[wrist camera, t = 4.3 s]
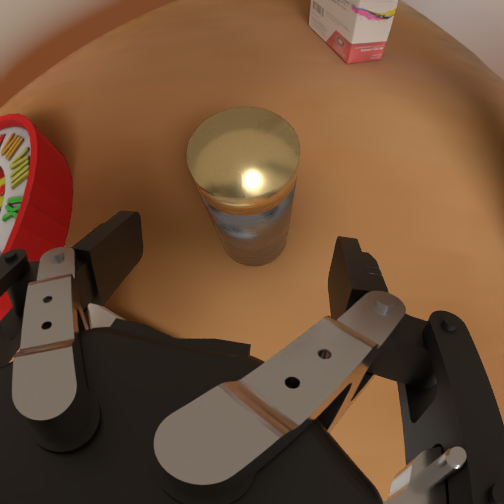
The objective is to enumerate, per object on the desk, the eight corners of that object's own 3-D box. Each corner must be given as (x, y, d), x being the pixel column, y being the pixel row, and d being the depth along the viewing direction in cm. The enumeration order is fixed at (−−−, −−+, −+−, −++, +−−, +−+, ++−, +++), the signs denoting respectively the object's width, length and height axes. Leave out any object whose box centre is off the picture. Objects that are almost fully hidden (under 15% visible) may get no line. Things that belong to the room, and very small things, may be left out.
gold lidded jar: (238, 196, 22) (217, 97, 12) (296, 218, 21) (314, 124, 12) (211, 251, 21) (166, 176, 11) (271, 276, 20) (274, 215, 11)
